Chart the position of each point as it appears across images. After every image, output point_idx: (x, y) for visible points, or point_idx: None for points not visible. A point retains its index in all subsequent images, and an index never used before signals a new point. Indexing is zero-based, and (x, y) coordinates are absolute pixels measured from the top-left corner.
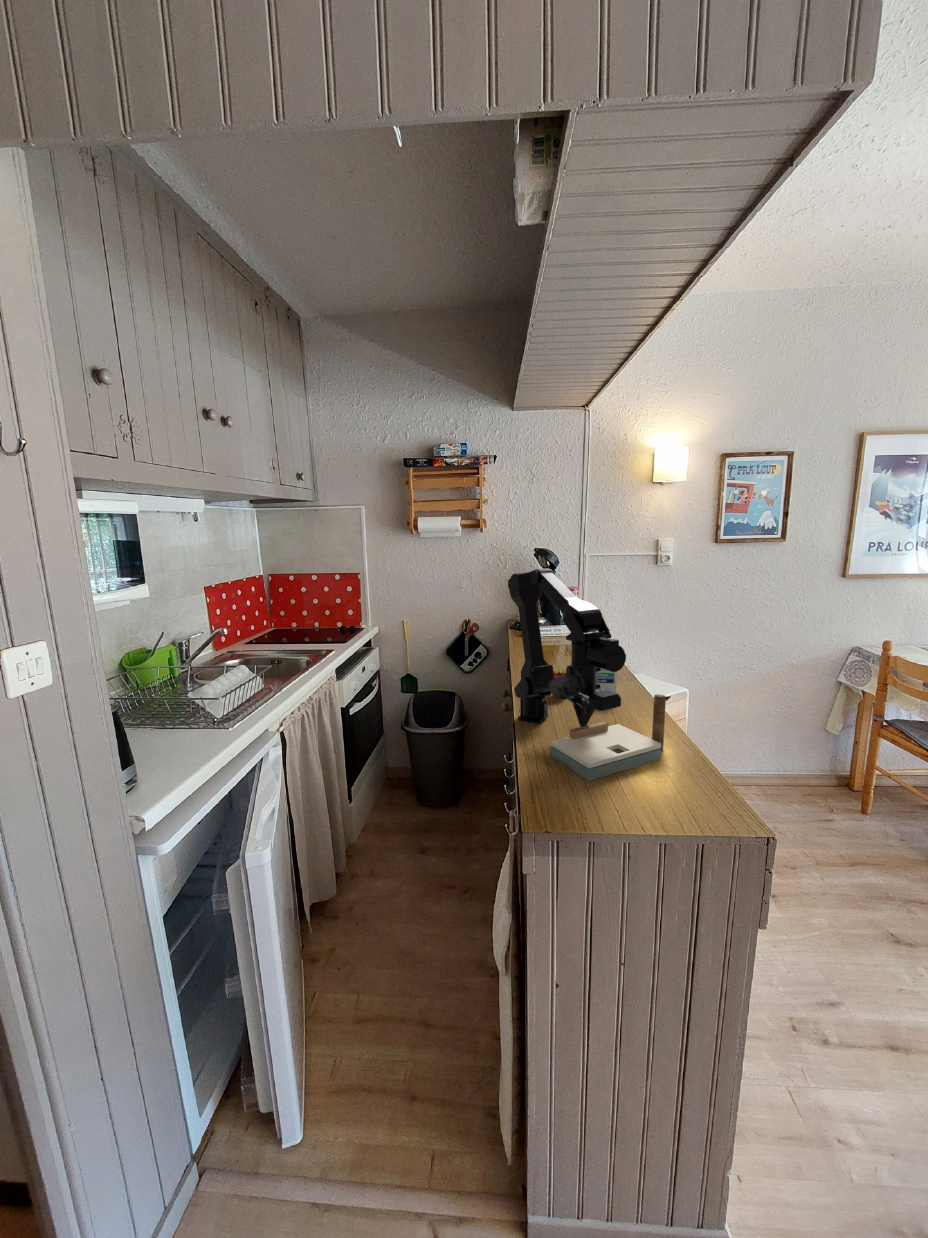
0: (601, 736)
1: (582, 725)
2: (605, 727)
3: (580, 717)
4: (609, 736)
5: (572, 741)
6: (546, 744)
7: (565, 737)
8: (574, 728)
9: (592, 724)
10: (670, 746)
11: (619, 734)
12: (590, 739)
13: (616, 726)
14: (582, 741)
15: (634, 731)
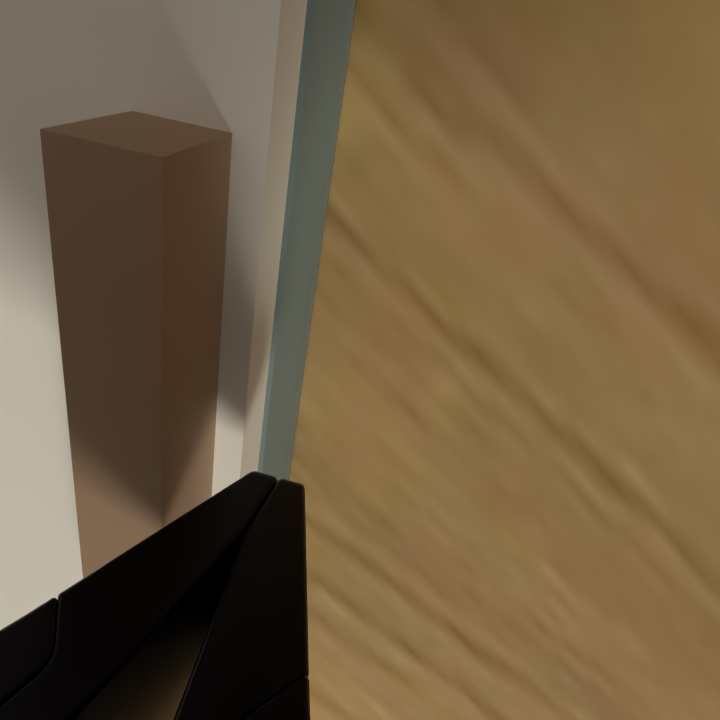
0: (50, 453)
1: (228, 486)
2: None
3: (179, 578)
4: (18, 500)
5: (71, 16)
6: (712, 54)
7: (259, 55)
8: (159, 274)
9: None
10: None
11: (19, 586)
12: (26, 295)
13: None
14: (7, 150)
15: None
